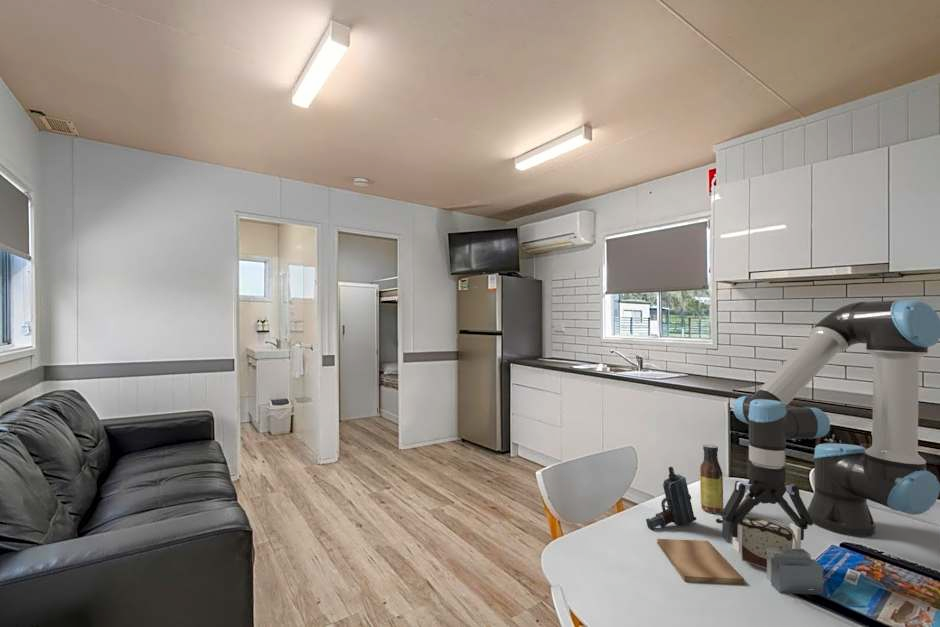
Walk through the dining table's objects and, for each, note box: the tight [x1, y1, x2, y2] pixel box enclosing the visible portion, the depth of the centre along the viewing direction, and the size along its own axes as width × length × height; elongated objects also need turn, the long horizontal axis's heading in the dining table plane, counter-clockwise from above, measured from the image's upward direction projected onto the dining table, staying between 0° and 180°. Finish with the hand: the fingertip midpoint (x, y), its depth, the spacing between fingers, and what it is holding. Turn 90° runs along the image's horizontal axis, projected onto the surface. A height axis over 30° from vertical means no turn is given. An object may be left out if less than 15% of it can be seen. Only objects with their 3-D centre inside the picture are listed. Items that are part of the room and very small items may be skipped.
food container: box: [739, 515, 796, 570], centre depth 107 cm, size 12×6×10 cm, turn 47°
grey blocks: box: [715, 516, 824, 596], centre depth 109 cm, size 9×28×7 cm, turn 176°
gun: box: [645, 466, 697, 531], centre depth 126 cm, size 3×17×15 cm
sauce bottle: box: [699, 444, 724, 514], centre depth 137 cm, size 7×6×20 cm
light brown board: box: [656, 538, 745, 585], centre depth 107 cm, size 13×17×1 cm
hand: (766, 551), depth 107 cm, fingers open, 13 cm apart
